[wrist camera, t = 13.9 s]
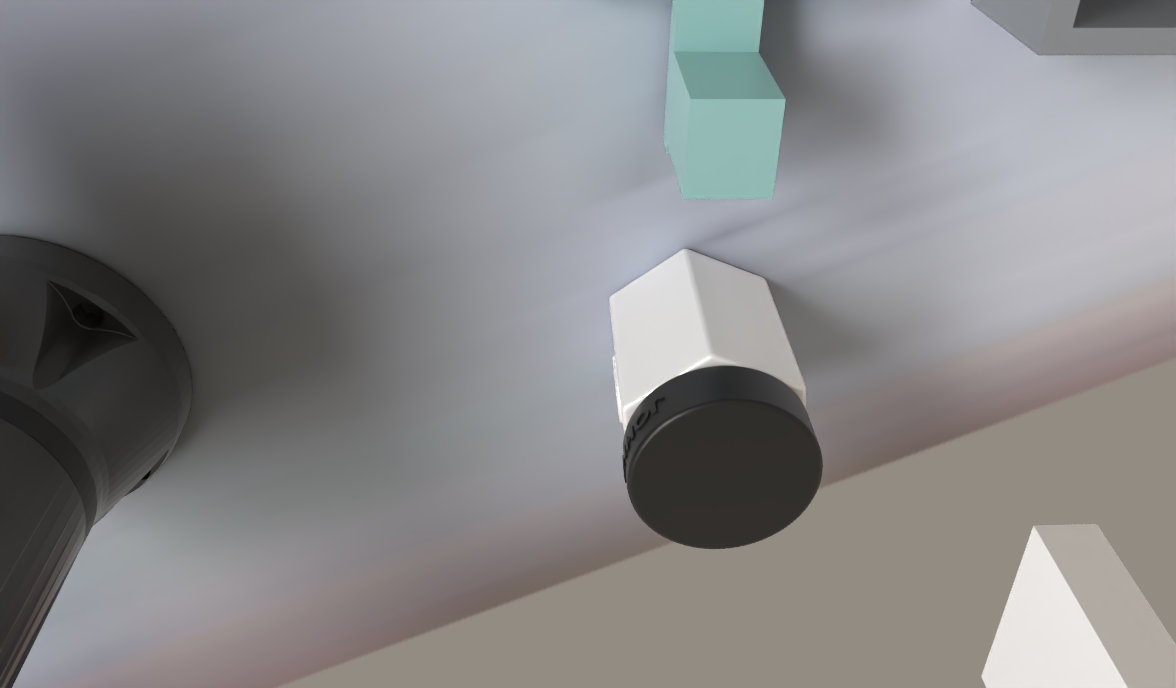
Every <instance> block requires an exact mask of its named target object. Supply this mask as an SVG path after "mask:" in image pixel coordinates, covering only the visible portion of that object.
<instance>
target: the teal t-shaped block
mask: <svg viewBox="0 0 1176 688" xmlns="http://www.w3.org/2000/svg"><path fill="white" fill-rule="evenodd" d="M763 8H764V0H672V11H671V27H670V43H669V58H668V74H667V90H666V106H665V121H664V137H663V142H664V146H665V150H666V154H667V155H671V158H672V162H673V166H674V169H675V173H676V177H677V180H678V184H679V188H680V191H681V195H682V199H773V194H774V186H775V178H776V171H777V163H778V156H779V148H780V141H781V133H782V125H783V118H784V110H785V103H786V99H785V97H784V95H783V93H782V92H781V90H780V88H779V87H778V85H777V83H776V81H775V80H774V78H773V76H772V74H771V73H770V71H769V69H768V68H767V66H766V64H765V62H764V61H763V59H762V57H761V55H760V54H759V44H760V35H761V26H762V17H763Z"/></svg>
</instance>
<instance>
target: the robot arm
mask: <svg viewBox="0 0 1176 688" xmlns="http://www.w3.org/2000/svg"><path fill="white" fill-rule="evenodd" d="M191 402H192V379H191V372H190V367H189V364H188V360H187V357H186V354H185V352H184V349H183V347H182V345H181V343H180V341H179V339H178V337H177V335H176V334H175V332H174V330H173V329H172V327H171V326H170V324H169V323H168V321H167V320H166V319H165V317H164V316H163V315H162V314H161V312H160V311H159V310H158V309H157V308H156V307H155V306H154V305H153V303H152V302H151V301H150V300H149V299H148V298H147V297H145V296H144V295H143V294H142V293H141V292H140V291H139V290H138V289H136V288H135V287H134V286H133V285H132V284H130V283H129V282H128V281H126V280H125V279H124V278H122V277H121V276H119V275H118V274H116V273H115V272H113V271H112V270H110V269H108V268H107V267H105V266H103V265H101V264H100V263H98V262H96V261H94V260H92V259H90V258H88V257H86V256H83V255H81V254H79V253H76V252H74V251H71V250H69V249H66V248H63V247H60V246H57V245H54V244H50V243H47V242H43V241H38V240H34V239H29V238H22V237H15V236H3V235H0V688H12V686H13V684H14V682H15V680H16V678H17V676H18V674H19V672H20V670H21V668H22V666H23V664H24V662H25V660H26V658H27V656H28V654H29V652H30V650H31V648H32V646H33V644H34V642H35V640H36V638H37V636H38V634H39V632H40V630H41V628H42V626H43V624H44V622H45V619H46V617H47V615H48V613H49V611H50V609H51V607H52V605H53V603H54V601H55V599H56V597H57V595H58V593H59V591H60V589H61V587H62V585H63V583H64V581H65V579H66V577H67V575H68V573H69V571H70V569H71V567H72V565H73V563H74V561H75V559H76V557H77V555H78V553H79V551H80V549H81V547H82V545H83V543H84V541H85V539H86V538H87V536H88V534H89V532H90V530H91V528H92V526H93V525H95V524H96V523H97V522H98V521H99V520H100V519H101V518H103V517H104V516H105V515H106V514H107V513H108V512H109V511H110V510H111V509H112V508H113V506H114V505H115V504H116V503H117V502H118V501H119V500H120V499H121V498H123V497H124V496H126V495H128V494H129V493H131V492H133V491H134V490H136V489H137V488H139V487H140V486H141V485H143V484H144V483H145V482H146V481H147V480H149V479H150V478H151V477H152V476H153V475H154V474H155V473H156V472H157V471H158V470H159V469H160V468H161V466H162V465H163V464H164V463H165V461H166V460H167V458H168V457H169V455H170V454H171V452H172V450H173V448H174V447H175V444H176V442H177V440H178V438H179V436H180V434H181V432H182V430H183V428H184V425H185V423H186V421H187V418H188V415H189V412H190V407H191ZM981 677H982V678H983V681H984V683H985V686H986V688H1176V644H1175V643H1174V641H1173V640H1172V638H1171V637H1170V635H1169V634H1168V632H1167V631H1166V629H1165V628H1164V626H1163V625H1162V623H1161V622H1160V620H1159V618H1158V617H1157V615H1156V614H1155V612H1154V611H1153V609H1152V608H1151V606H1150V605H1149V603H1148V602H1147V600H1146V599H1145V597H1144V596H1143V594H1142V593H1141V591H1140V589H1139V588H1138V586H1137V585H1136V583H1135V582H1134V580H1133V579H1132V577H1131V576H1130V574H1129V573H1128V571H1127V570H1126V568H1125V567H1124V565H1123V564H1122V562H1121V560H1120V559H1119V558H1118V556H1117V554H1116V553H1115V551H1114V550H1113V548H1112V547H1111V545H1110V544H1109V542H1108V541H1107V539H1106V538H1105V536H1104V535H1103V533H1102V531H1101V530H1100V528H1099V527H1098V525H1097V524H1085V525H1040V526H1033V529H1032V532H1031V535H1030V538H1029V541H1028V544H1027V546H1026V549H1025V552H1024V555H1023V558H1022V561H1021V564H1020V567H1019V569H1018V572H1017V575H1016V578H1015V581H1014V584H1013V587H1012V590H1011V593H1010V595H1009V598H1008V601H1007V604H1006V607H1005V610H1004V613H1003V616H1002V619H1001V622H1000V624H999V627H998V630H997V633H996V636H995V639H994V642H993V645H992V648H991V651H990V653H989V657H988V659H987V662H986V665H985V668H984V671H983V674H982V676H981Z"/></svg>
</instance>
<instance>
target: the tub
mask: <svg viewBox="0 0 1176 688" xmlns="http://www.w3.org/2000/svg"><path fill="white" fill-rule="evenodd" d="M971 4H972V5H973V6H975V7H976V8H977V9H979V10H980V11H981V12H983V13H984V14H985V15H987V16H988V17H989V18H990V19H992V20H993V21H994V22H996V23H997V24H998V25H1000V26H1001V27H1002V28H1003V29H1005V30H1006V31H1007V32H1009V33H1010V34H1011V35H1013V36H1014V37H1015V38H1017V39H1018V40H1019V41H1020V42H1022V43H1023V44H1024V45H1026V46H1027V47H1028V48H1030V49H1031V50H1032V51H1034V52H1035V53H1036V54H1037V55H1176V0H971Z"/></svg>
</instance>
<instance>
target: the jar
mask: <svg viewBox="0 0 1176 688" xmlns="http://www.w3.org/2000/svg"><path fill="white" fill-rule="evenodd" d="M609 305H610V314H611V323H612V332H613V340H614V349H615V355H614V356H613V357H612V359H613V369H614V379H615V388H616V397H617V406H618V414H619V421H620V422H621V423H623V429H624V442H623V452H624V455H623V469H624V478H625V483H627V489H628V494H629V497H630V500H631V503H632V505H633V507H634V509H635V511H636V512H637V514H638V516H639V517H640V518H641V519H642V520H643V522H644V523H645V524H647V525H648V526H649V527H650V528H651V529H652V530H654V531H655V532H657V533H658V534H660V535H661V536H663V537H665V538H667V539H669V540H671V541H674V542H676V543H679V544H683V545H686V546H691V547H696V548H704V549H725V548H734V547H740V546H744V545H747V544H752V543H755V542H758V541H760V540H763V539H765V538H768V537H770V536H772V535H774V534H776V533H777V532H779V531H781V530H782V529H784V528H785V527H787V526H788V525H790V524H791V523H792V522H793V521H794V520H796V519H797V518H798V517H799V516H800V515H801V514H802V512H803V511H804V510H805V509H806V508H807V507H808V505H809V504H810V502H811V501H812V499H813V498H814V496H815V494H816V492H817V490H818V487H819V484H820V481H821V477H822V468H823V464H822V454H821V450H820V447H819V444H818V441H817V438H816V436H815V433H814V430H813V427H812V425H811V422H810V419H809V416H808V414H807V411H806V386H805V383H804V380H803V378H802V375H801V372H800V370H799V367H798V364H797V362H796V359H795V356H794V354H793V351H792V348H791V346H790V343H789V340H788V338H787V335H786V332H785V330H784V327H783V324H782V322H781V319H780V316H779V314H778V311H777V308H776V306H775V303H774V300H773V298H772V295H771V292H770V290H769V287H768V284H767V282H766V280H765V279H764V278H762V277H760V276H757V275H755V274H752V273H749V272H747V271H744V270H741V269H739V268H736V267H733V266H731V265H728V264H726V263H723V262H720V261H718V260H715V259H712V258H710V257H707V256H704V255H702V254H699V253H697V252H694V251H691V250H689V249H682V250H681V251H679V252H678V253H676V254H675V255H673V256H672V257H670V258H668V259H667V260H665V261H664V262H662V263H661V264H659V265H658V266H656V267H655V268H653V269H651V270H650V271H648V272H647V273H645V274H644V275H642V276H641V277H639V278H638V279H636V280H634V281H633V282H631V283H630V284H628V285H627V286H625V287H624V288H622V289H621V290H619V291H617V292H616V293H614V294H613V295H611V297H610V298H609Z"/></svg>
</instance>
